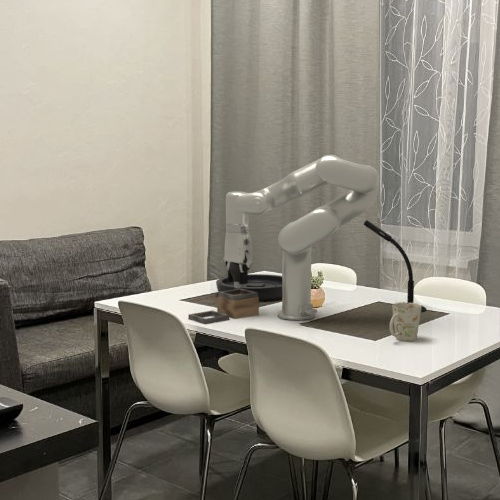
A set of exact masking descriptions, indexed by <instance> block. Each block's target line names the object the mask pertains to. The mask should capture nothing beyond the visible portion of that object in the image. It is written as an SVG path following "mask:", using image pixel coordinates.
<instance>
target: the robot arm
mask: <svg viewBox="0 0 500 500" xmlns="http://www.w3.org/2000/svg"><path fill="white" fill-rule="evenodd" d="M328 184H331V185H333V186H336V187H340V188H343V189H346V190H348V191H347V192H345V193H344V194H342V195H340V196H338V197H337V198H335V199H333V200H331V201H329V202H328V203H326V204H323V205H321V206H319V207H317V208H315V209H313V210H312V211H311V212H308V213H307V214H305V215H303V216H302V217H300V218H298V219H296V220H295V221H291V222H289V223H288V224H286V225H285V226H284V227H283V228H282V229H281V230H280V232H279V233H278V246H279V247H280V249H281V250H282V264H281V265H282V269H281V273H282V275H281V276H282V299H281V305H282V306H281V308H282V309H281V310H279V311H277V317H278V318H280V319H283V320H289V321H290V320H291V321H303V320H304V321H306V320H311V319H314V318H315V317H316V314H317V313H318V309H317V308H314V304H313V303H312V252H313V251H312V250H313V249H312V248H313V246H315V245H317V244H319V243H320V242H323V240H325V239H327V238H329V237H331V236H332V235H333V234H334V233H335V232H337V230H338V229H339V228H341V227H342V226H344V225H346V224H348V223H350V222H351V221H353V220H354V219H357V218H358V217H359V216H361V215H362V214H363V213H365V212H366V211H367V210H369V209H370V207H371V206H372V205H373V204H374V202H375V201H376V200H377V198H378V194H379V191H380V175H379V172H378V170H377V169H376V168H375V167H373V166H372V165H369V164H361V163H357V162H354V161H351V160H346V159H344V158H341V157H339V156H337V155H336V154H326V155H323V156H322V157H320V158H319V159H316V160H314V161H313V162H310V163H308V164H307V165H304V166H302V167H301V168H298V169H296V170H294V171H292V172H290V173H289V174H287V176H285V177H284V178H282V179H280V180H279V181H277V182H274V183H273V184H271V185H269V186H267V187H264V188H262V189H260V190H258V191H257V190H256V191H254V192H246V191H228V192H227V193H226V195H225V237H224V255H223V257H222V259H223V261H224V263H225V266H226V270H227V277H228V282H233V277H232V275H231V273H230V271H229V266H230V264H231V263H232V262H234V263H238V264H239V267H240V272H239V284H247V283H248V273H249V271H250V269H251V267H252V266H253V264H254V262H253V244H252V237H251V233H250V232H249V230H250V229H249V227H250V226H249V225H250V224H249V223H250V221H249V215H257V216H259V215H260V216H261V215H263V214H265V213H267V212H270V211H271V210H273V209H275V208H277V207H279V206H281V205H283V204H286V203H288V202H290V201H292V200H295V199H299V198H302V197H304V196H307V195H308V194H311V193H312V192H314V191H317V190H319V189H320V188H322V187H325V186H328ZM243 262H244V263H243ZM243 265H245V266H244V267H243Z"/></svg>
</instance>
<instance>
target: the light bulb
mask: <svg viewBox="0 0 500 500" xmlns="http://www.w3.org/2000/svg"><path fill="white" fill-rule="evenodd" d="M243 263H244V262H243ZM244 266H245V265H243V267H244ZM229 271H230V273H231V275H232V277H233V281H234V287H235V288H236V289H237V290H239V288H241V284H239V272H240V267H239V264H238V263H234V262H232V263H231V264H230V266H229Z"/></svg>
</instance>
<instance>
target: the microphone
mask: <svg viewBox="0 0 500 500" xmlns="http://www.w3.org/2000/svg"><path fill="white" fill-rule="evenodd" d="M363 226H364V227H366V228H367V229H368V230H370V231H372V232H374V233H375V234H376V235H378V236H379V237H381V238H382V239H383V240H386V241H387V242H390V243H391V244H392V245H393V246H394V247H395V248H396V249H397V250H398V251H399V252H400V254H401V256H402V258H403V259H404V262H405V264H406V267H407V268H406V269H407V273H408V274H407V275H408V280H407V298H406V299H407V302H404V301H403V302H402V303H415V301H414V298H415V296H414V294H415V293H414V292H415V280H414V275H413V268H412V265H411V262H410V259H409V257H408V255H407V253H406V252H405V250H404V248H403V247H402V246H401V245H400V244H399V243H398V242H397V241H396V240H395V239H394V238H392V236H391V235H390V234H389V233H387V232H386V231H384V230H383V229H381V228H379V227H378V226H376V225H375V224H374V223H372V222H371V221H370V220H364V222H363ZM420 305H421V304H420ZM426 311H427V307H426V306H424V305H421V313H424V312H426Z"/></svg>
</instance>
